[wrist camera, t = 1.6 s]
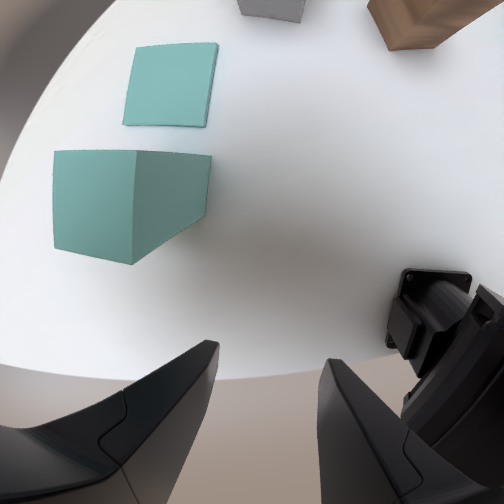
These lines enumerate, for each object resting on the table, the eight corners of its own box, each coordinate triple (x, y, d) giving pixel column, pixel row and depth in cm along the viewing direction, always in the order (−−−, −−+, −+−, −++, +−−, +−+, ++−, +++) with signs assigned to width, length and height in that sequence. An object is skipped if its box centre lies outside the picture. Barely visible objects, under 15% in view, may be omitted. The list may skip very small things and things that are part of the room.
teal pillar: (211, 155, 18) (136, 150, 9) (204, 215, 19) (132, 264, 10) (155, 151, 18) (54, 151, 9) (150, 208, 20) (54, 248, 10)
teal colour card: (218, 45, 16) (216, 42, 15) (205, 127, 18) (203, 126, 17) (139, 50, 16) (136, 47, 16) (126, 125, 18) (122, 124, 17)
